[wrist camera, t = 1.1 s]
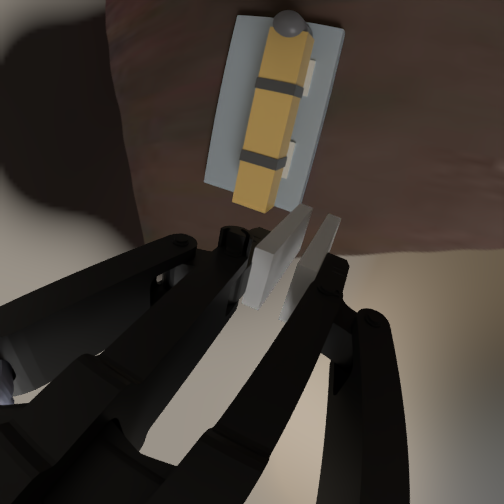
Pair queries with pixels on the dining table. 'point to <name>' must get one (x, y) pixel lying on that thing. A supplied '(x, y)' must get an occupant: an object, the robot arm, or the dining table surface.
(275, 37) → the banded tan post
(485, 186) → the dining table surface
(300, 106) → the power panel
